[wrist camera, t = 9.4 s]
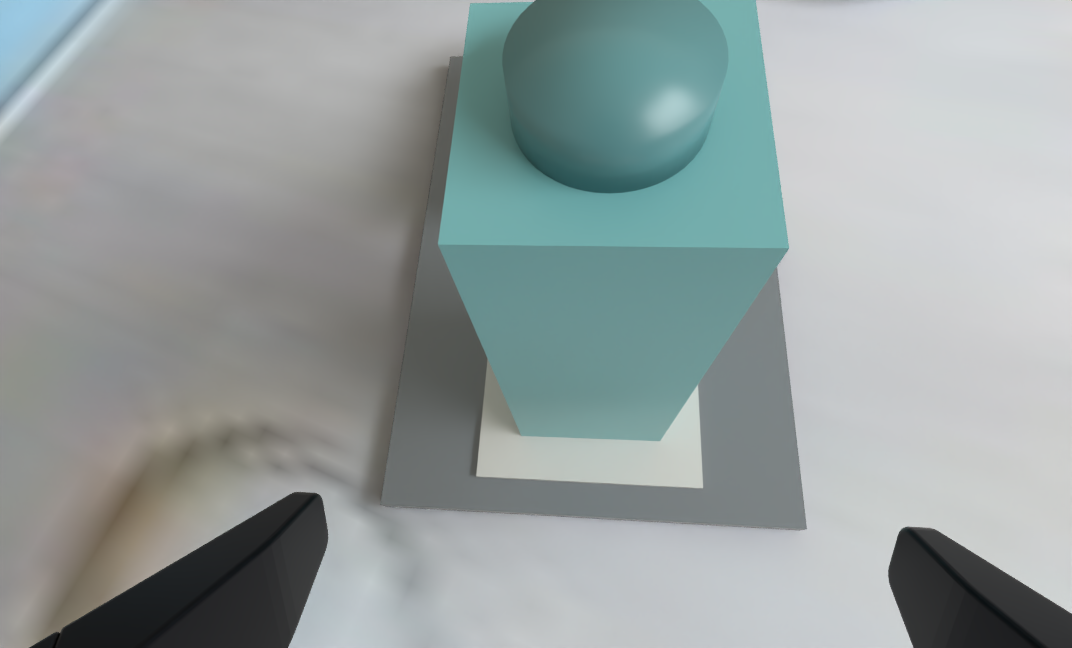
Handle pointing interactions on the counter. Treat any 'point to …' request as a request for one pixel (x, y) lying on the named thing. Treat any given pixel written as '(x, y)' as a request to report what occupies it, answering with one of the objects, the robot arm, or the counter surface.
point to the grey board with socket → (582, 463)
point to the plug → (610, 203)
